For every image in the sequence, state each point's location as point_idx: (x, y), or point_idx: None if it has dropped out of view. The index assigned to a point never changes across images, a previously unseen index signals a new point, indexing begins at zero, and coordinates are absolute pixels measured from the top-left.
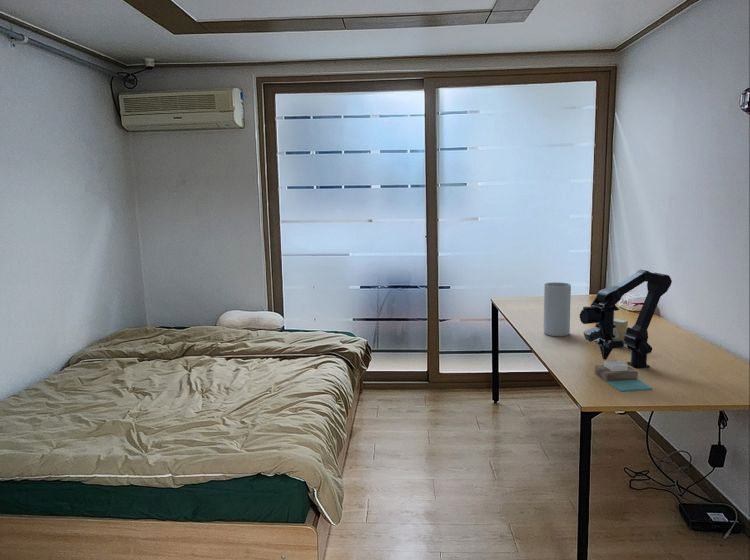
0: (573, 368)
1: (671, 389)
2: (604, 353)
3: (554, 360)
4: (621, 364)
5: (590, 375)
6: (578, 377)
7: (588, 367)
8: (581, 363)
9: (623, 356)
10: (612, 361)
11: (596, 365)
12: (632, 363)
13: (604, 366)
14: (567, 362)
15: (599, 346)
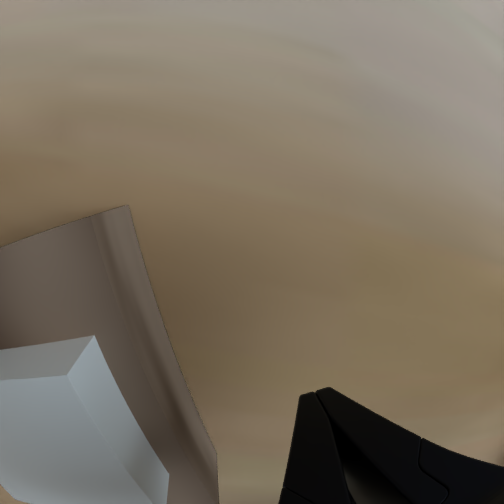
0: (324, 29)
1: (7, 498)
2: (288, 479)
3: (488, 4)
4: (15, 479)
5: (84, 148)
6: (42, 38)
7: (365, 188)
8: (466, 161)
9: (493, 436)
10: (80, 460)
11: (92, 235)
12: (355, 502)
13: (68, 335)
14: (474, 59)
15: (494, 474)
